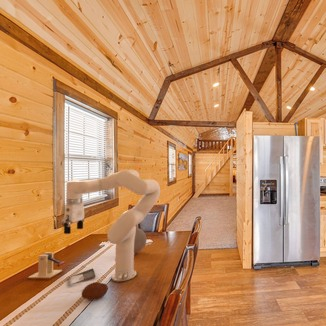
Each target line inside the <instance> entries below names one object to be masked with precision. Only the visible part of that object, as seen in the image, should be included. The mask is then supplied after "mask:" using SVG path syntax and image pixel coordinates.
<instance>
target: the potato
mask: <svg viewBox="0 0 326 326" xmlns="http://www.w3.org/2000/svg"><path fill="white" fill-rule="evenodd" d="M108 289H109V287H108V284H107V283H105V282H104V283H102V282H99V281H93V282H91V283H88V284H87V285H86V286H85V287H84V288H83V289H82V291H81V297H82V298H83V299H84V300H89V301H96V300H99V299H101V298H103V297H104V296H105V295H106V294H107V292H108Z"/></svg>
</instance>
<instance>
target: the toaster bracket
mask: <svg viewBox="0 0 326 326" xmlns="http://www.w3.org/2000/svg"><path fill="white" fill-rule="evenodd" d="M44 254H49V255H51V256H50V257H51V258H53V259H54V256H55V255H54V251H53V252H51V251H48V252H47V251H45V252H44ZM44 254H39V255H38V262H37V264H38V267H37V272H34V273H33V274H31V275H29V276H28V277H27V279H50V278H52V277H54V276H56V275H58V274H59V273H61V272H63V269H54V262H53V261H51V260H48V255H44Z"/></svg>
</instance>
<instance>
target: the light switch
mask: <svg viewBox="0 0 326 326" xmlns="http://www.w3.org/2000/svg"><path fill="white" fill-rule="evenodd" d="M80 275H82V276H80ZM77 276H79V277H78V279H79V280H78V281H76V282H73V283H72V285H75V284H79V283H82V282H86V281H88V280H90V279H93V278H96V273H95V270H94V268H89V269H87V270H84V271H81V272H79V273H77V274H74V275H71V276H70V278H72V277H77Z"/></svg>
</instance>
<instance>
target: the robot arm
mask: <svg viewBox="0 0 326 326" xmlns="http://www.w3.org/2000/svg"><path fill="white" fill-rule="evenodd" d="M120 187H123V188H125V189H127V190H129V191H131V192H132V193H134V194H136V195H139V196H141V198H140V199H139V200H138V201H137V203H136V204H135V205H134V206H133V207H132V208H130V209H128V210H126V211H124V212H122V213H121V214H120V216H118V218H117V219H116V220H115V222H114V223H113V224H112V225H111V227H110V228H109V230H108V231H107V235H106V238H107V240H108V242H109V243H110V244H114V245H115V256H114V257H115V260H114V261H115V262H114V274H113V275H111V280H112V281H113V282H126V281H129V280H132V279H133V278H135V277H136V276H137V274H138V273H137V270H135V268H134V267H135V253H134V240H135V234H136V228H137V227H136V226H137V225H139V224H141V223H142V222H143V221H144V220H145V218H146V217H147V215H148V214H149V213H150V212H151V210H152V208H154V206H155V205H156V204H157V202H158V201H159V198H160V196H161V186H160V183H159V182H158V181H157V180H155V179H153V178H146V179H143V178H141V177H140V173H139V172H138V171H137V170H136V169H122V170H119V171H118V172H113V173H110V174H108V175H107V176H105V177H102V178H96V179H89V180H68V181H67V182H66V190H65V191H66V195H65V197H66V199H65V201H66V202H65V208H64V215H63V216H64V217H63V218H62V219H61V220H60V222H61V225H62V226H63V234H64V235H69V234H72V233H71V232H72V231H71V230H72V229H71V228H72V227H71V224H72V223H76V229H77V230H82V229H84V222H85V218H86V213H85V207H84V203H83V196H84V195H86V194H92V193H97V192H98V193H99V192H102V191H106V190H111V189H116V188H120Z"/></svg>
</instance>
